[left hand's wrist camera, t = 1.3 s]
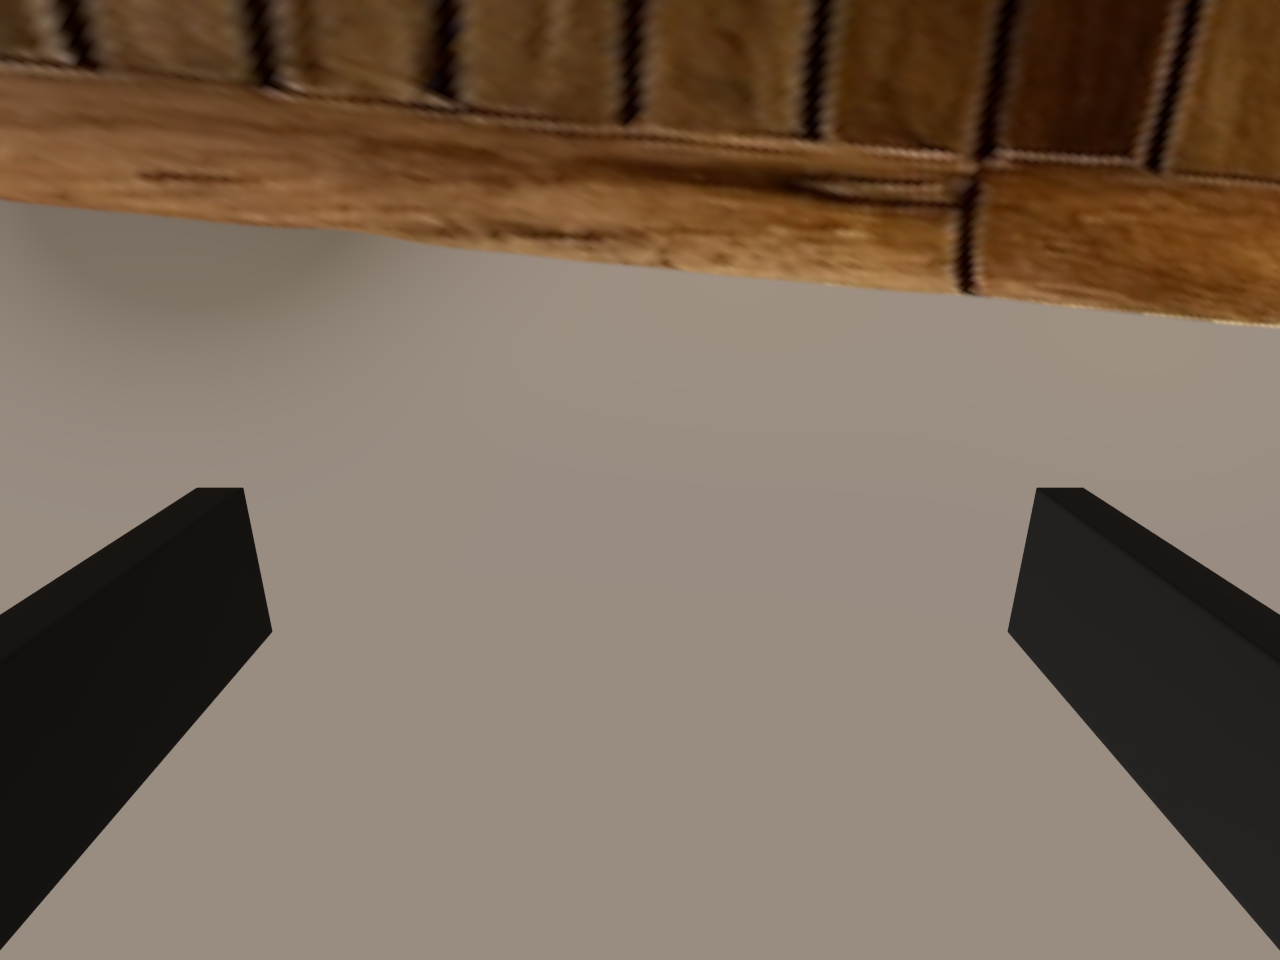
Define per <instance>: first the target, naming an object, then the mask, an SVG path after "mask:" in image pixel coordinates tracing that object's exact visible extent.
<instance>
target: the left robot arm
mask: <svg viewBox="0 0 1280 960" xmlns="http://www.w3.org/2000/svg"><path fill="white" fill-rule="evenodd" d="M271 633H272V627H271V622H270V617H269V612H268V608H267V603H266V598H265V593H264V588H263V583H262V578H261V573H260V568H259V563H258V558H257V553H256V548H255V543H254V538H253V533H252V528H251V523H250V519H249V514H248V509H247V504H246V499H245V494H244V489H243V488H196V489H194V490H193V491H191V492H190V493H188V494H186V495H185V496H183V497H182V498H180V499H179V500H177V501H176V502H174V503H173V504H171V505H169V506H168V507H166V508H165V509H163V510H162V511H160V512H159V513H157V514H156V515H154V516H152V517H151V518H149V519H148V520H146V521H145V522H143V523H142V524H140V525H139V526H137V527H135V528H134V529H132V530H131V531H129V532H128V533H126V534H125V535H123V536H121V537H120V538H118V539H117V540H115V541H114V542H112V543H111V544H109V545H107V546H106V547H104V548H103V549H101V550H100V551H98V552H97V553H95V554H94V555H92V556H90V557H89V558H87V559H86V560H84V561H83V562H81V563H80V564H78V565H77V566H75V567H73V568H72V569H70V570H69V571H67V572H66V573H64V574H63V575H61V576H60V577H58V578H56V579H55V580H53V581H52V582H50V583H49V584H47V585H46V586H44V587H43V588H41V589H39V590H38V591H36V592H35V593H33V594H32V595H30V596H29V597H27V598H25V599H24V600H22V601H21V602H19V603H18V604H16V605H15V606H13V607H12V608H10V609H8V610H7V611H5V612H4V613H2V614H1V615H0V950H1V949H2V948H3V946H4V945H5V944H6V943H7V942H8V941H9V939H10V938H11V937H12V936H13V935H14V933H15V932H16V931H17V930H18V929H19V928H20V926H21V925H22V924H23V923H24V922H25V921H26V919H27V918H28V917H29V916H30V915H31V914H32V912H33V911H34V910H35V909H36V908H37V906H38V905H39V904H40V903H41V902H42V901H43V900H44V898H45V897H46V896H47V895H48V894H49V893H50V891H51V890H52V889H53V888H54V887H55V886H56V884H57V883H58V882H59V881H60V880H61V878H62V877H63V876H64V875H65V874H66V873H67V871H68V870H69V869H70V868H71V867H72V866H73V864H74V863H75V862H76V861H77V860H78V859H79V857H80V856H81V855H82V854H83V853H84V852H85V850H86V849H87V848H88V847H89V846H90V845H91V843H92V842H93V841H94V840H95V839H96V837H97V836H98V835H99V834H100V833H101V832H102V830H103V829H104V828H105V827H106V826H107V825H108V823H109V822H110V821H111V820H112V819H113V818H114V816H115V815H116V814H117V813H118V812H119V811H120V809H121V808H122V807H123V806H124V805H125V804H126V802H127V801H128V800H129V799H130V798H131V797H132V795H133V794H134V793H135V792H136V791H137V790H138V788H139V787H140V786H141V785H142V784H143V782H144V781H145V780H146V779H147V778H148V777H149V775H150V774H151V773H152V772H153V771H154V770H155V768H156V767H157V766H158V765H159V764H160V763H161V761H162V760H163V759H164V758H165V757H166V756H167V754H168V753H169V752H170V751H171V750H172V749H173V747H174V746H175V745H176V744H177V743H178V742H179V740H180V739H181V738H182V737H183V736H184V735H185V733H186V732H187V731H188V730H189V729H190V727H191V726H192V725H193V724H194V723H195V722H196V720H197V719H198V718H199V717H200V716H201V715H202V713H203V712H204V711H205V710H206V709H207V708H208V706H209V705H210V704H211V703H212V702H213V701H214V699H215V698H216V697H217V696H218V695H219V693H220V692H221V691H222V690H223V689H224V688H225V687H226V685H227V684H228V683H229V682H230V681H231V680H232V678H233V677H234V676H235V675H236V674H237V672H238V671H239V670H240V669H241V668H242V667H243V665H244V664H245V663H246V662H247V661H248V660H249V658H250V657H251V656H252V655H253V654H254V653H255V651H256V650H257V649H258V648H259V647H260V646H261V644H262V643H263V642H264V641H265V640H266V639H267V637H268V636H269V635H270V634H271ZM1008 633H1009V634H1010V635H1011V636H1012V637H1013V639H1014V640H1015V641H1016V642H1017V643H1018V644H1019V646H1020V647H1021V648H1022V649H1023V650H1024V651H1025V653H1026V654H1027V655H1028V656H1029V657H1030V658H1031V660H1032V661H1033V662H1034V663H1035V664H1036V665H1037V667H1038V668H1039V669H1040V670H1041V671H1042V672H1043V674H1044V675H1045V676H1046V677H1047V678H1048V680H1049V681H1050V682H1051V683H1052V684H1053V685H1054V687H1055V688H1056V689H1057V690H1058V691H1059V692H1060V694H1061V695H1062V696H1063V697H1064V698H1065V699H1066V701H1067V702H1068V703H1069V704H1070V705H1071V706H1072V708H1073V709H1074V710H1075V711H1076V712H1077V713H1078V715H1079V716H1080V717H1081V718H1082V719H1083V720H1084V722H1085V723H1086V724H1087V725H1088V726H1089V728H1090V729H1091V730H1092V731H1093V732H1094V733H1095V735H1096V736H1097V737H1098V738H1099V739H1100V740H1101V741H1102V743H1103V744H1104V745H1105V746H1106V747H1107V749H1108V750H1109V751H1110V752H1111V753H1112V754H1113V756H1114V757H1115V758H1116V759H1117V760H1118V761H1119V763H1120V764H1121V765H1122V766H1123V767H1124V768H1125V770H1126V771H1127V772H1128V773H1129V774H1130V776H1131V777H1132V778H1133V779H1134V780H1135V781H1136V783H1137V784H1138V785H1139V786H1140V787H1141V788H1142V790H1143V791H1144V792H1145V793H1146V794H1147V795H1148V797H1149V798H1150V799H1151V800H1152V801H1153V802H1154V804H1155V805H1156V806H1157V807H1158V808H1159V809H1160V811H1161V812H1162V813H1163V814H1164V815H1165V816H1166V818H1167V819H1168V820H1169V821H1170V822H1171V823H1172V825H1173V826H1174V827H1175V828H1176V829H1177V830H1178V832H1179V833H1180V834H1181V835H1182V836H1183V837H1184V839H1185V840H1186V841H1187V842H1188V843H1189V845H1190V846H1191V847H1192V848H1193V849H1194V850H1195V852H1196V853H1197V854H1198V855H1199V856H1200V857H1201V859H1202V860H1203V861H1204V862H1205V863H1206V864H1207V866H1208V867H1209V868H1210V869H1211V870H1212V871H1213V873H1214V874H1215V875H1216V876H1217V877H1218V878H1219V880H1220V881H1221V882H1222V883H1223V884H1224V886H1225V887H1226V888H1227V889H1228V890H1229V891H1230V892H1231V894H1232V895H1233V896H1234V897H1235V898H1236V900H1237V901H1238V902H1239V903H1240V904H1241V905H1242V907H1243V908H1244V909H1245V910H1246V911H1247V912H1248V914H1249V915H1250V916H1251V917H1252V918H1253V919H1254V921H1255V922H1256V923H1257V924H1258V925H1259V926H1260V928H1261V929H1262V930H1263V931H1264V932H1265V933H1266V935H1267V936H1268V937H1269V938H1270V939H1271V940H1272V942H1273V943H1274V944H1275V945H1276V946H1277V948H1278V949H1279V950H1280V615H1279V614H1278V613H1276V612H1275V611H1273V610H1272V609H1270V608H1268V607H1267V606H1265V605H1264V604H1262V603H1261V602H1259V601H1258V600H1256V599H1255V598H1253V597H1251V596H1250V595H1248V594H1247V593H1245V592H1244V591H1242V590H1241V589H1239V588H1237V587H1236V586H1234V585H1233V584H1231V583H1230V582H1228V581H1227V580H1225V579H1224V578H1222V577H1220V576H1219V575H1217V574H1216V573H1214V572H1213V571H1211V570H1210V569H1208V568H1207V567H1205V566H1203V565H1202V564H1200V563H1199V562H1197V561H1196V560H1194V559H1193V558H1191V557H1190V556H1188V555H1186V554H1185V553H1183V552H1182V551H1180V550H1179V549H1177V548H1176V547H1174V546H1173V545H1171V544H1169V543H1168V542H1166V541H1165V540H1163V539H1162V538H1160V537H1158V536H1157V535H1155V534H1154V533H1152V532H1151V531H1149V530H1148V529H1146V528H1145V527H1143V526H1142V525H1140V524H1138V523H1137V522H1135V521H1134V520H1132V519H1131V518H1129V517H1128V516H1126V515H1124V514H1123V513H1121V512H1120V511H1118V510H1117V509H1115V508H1114V507H1112V506H1111V505H1109V504H1107V503H1106V502H1104V501H1103V500H1101V499H1100V498H1098V497H1097V496H1095V495H1094V494H1092V493H1090V492H1089V491H1087V490H1086V489H1084V488H1037V489H1036V494H1035V499H1034V504H1033V509H1032V514H1031V519H1030V523H1029V529H1028V533H1027V538H1026V543H1025V548H1024V553H1023V558H1022V563H1021V568H1020V573H1019V578H1018V583H1017V588H1016V593H1015V598H1014V603H1013V608H1012V613H1011V618H1010V623H1009V627H1008Z"/></svg>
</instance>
